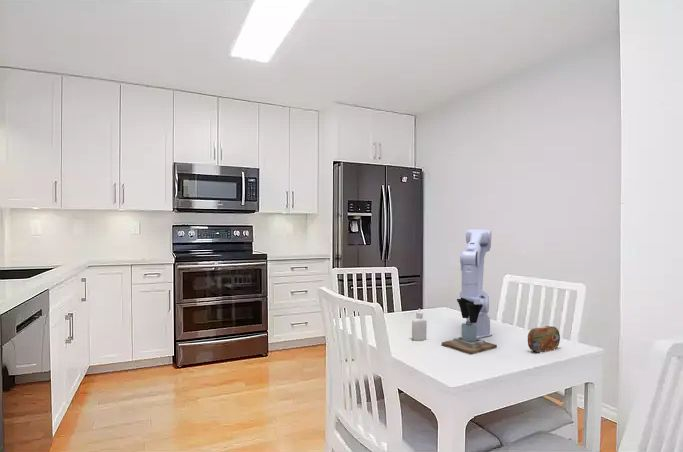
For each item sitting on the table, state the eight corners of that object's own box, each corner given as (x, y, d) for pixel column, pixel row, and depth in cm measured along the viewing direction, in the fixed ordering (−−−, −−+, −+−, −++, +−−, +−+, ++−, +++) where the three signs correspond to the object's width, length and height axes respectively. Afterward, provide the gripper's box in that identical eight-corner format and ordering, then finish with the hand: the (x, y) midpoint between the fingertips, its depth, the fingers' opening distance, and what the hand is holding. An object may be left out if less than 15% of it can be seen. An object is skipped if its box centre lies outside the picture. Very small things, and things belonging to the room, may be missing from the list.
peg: (472, 342, 150) (472, 320, 150) (476, 345, 146) (476, 323, 146) (461, 342, 150) (461, 320, 150) (465, 345, 146) (466, 323, 146)
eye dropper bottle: (411, 337, 159) (411, 307, 159) (426, 338, 158) (426, 307, 158) (412, 340, 155) (412, 309, 155) (426, 341, 154) (427, 310, 154)
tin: (533, 354, 140) (533, 330, 140) (525, 351, 142) (525, 328, 143) (560, 348, 147) (561, 325, 147) (552, 346, 149) (553, 323, 149)
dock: (467, 339, 158) (467, 332, 158) (496, 347, 147) (496, 340, 147) (441, 345, 149) (441, 338, 149) (470, 354, 138) (470, 347, 138)
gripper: (488, 286, 141) (488, 325, 141) (472, 280, 156) (472, 315, 156) (469, 286, 141) (468, 325, 141) (454, 280, 155) (454, 316, 155)
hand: (469, 320), depth 148 cm, fingers open, 7 cm apart
